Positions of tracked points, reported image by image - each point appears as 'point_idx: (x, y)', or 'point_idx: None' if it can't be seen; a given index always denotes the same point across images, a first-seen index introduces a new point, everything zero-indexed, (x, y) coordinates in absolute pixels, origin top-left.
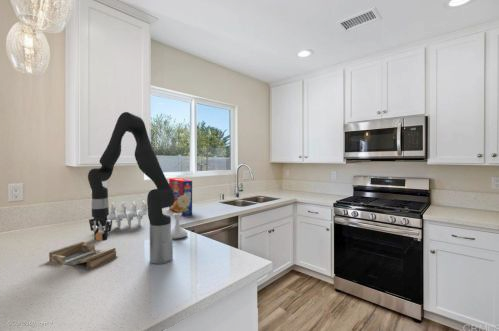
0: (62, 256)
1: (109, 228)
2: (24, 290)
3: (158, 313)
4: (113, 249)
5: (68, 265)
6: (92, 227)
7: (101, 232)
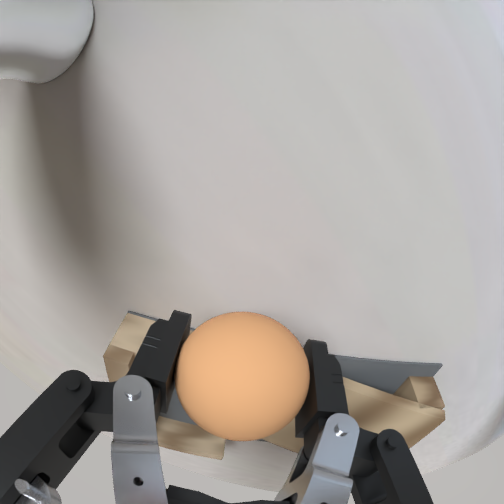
0: (209, 455)
1: (393, 473)
2: (263, 481)
3: (495, 438)
4: (436, 423)
5: (258, 439)
6: (86, 444)
7: (266, 435)
